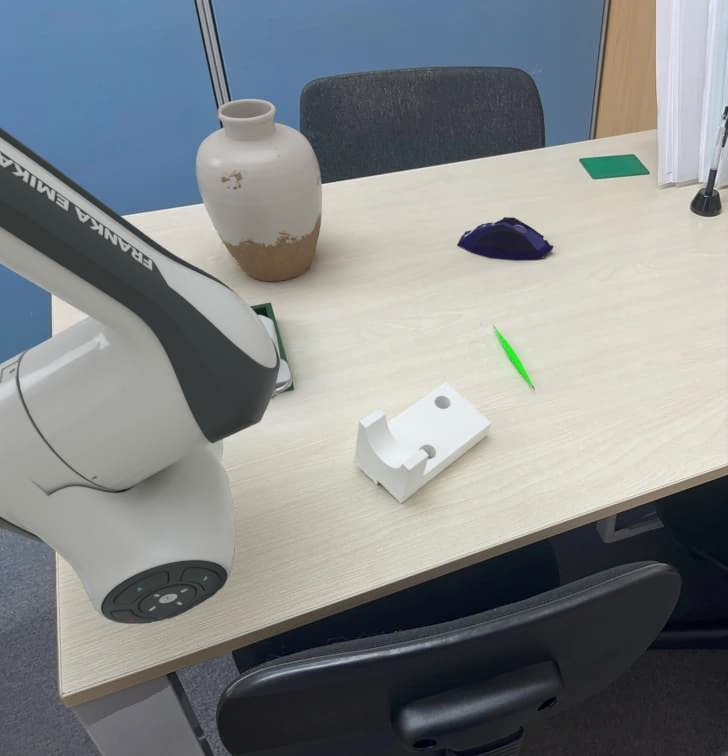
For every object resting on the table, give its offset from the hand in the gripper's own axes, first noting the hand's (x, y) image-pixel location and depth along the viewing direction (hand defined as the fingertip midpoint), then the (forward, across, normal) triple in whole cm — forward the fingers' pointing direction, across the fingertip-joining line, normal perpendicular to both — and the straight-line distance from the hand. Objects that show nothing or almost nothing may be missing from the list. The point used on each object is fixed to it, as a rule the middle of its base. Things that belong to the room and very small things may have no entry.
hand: (149, 319), depth 63 cm
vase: (+36, -14, +19) cm, 43 cm away
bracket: (-8, -23, +19) cm, 31 cm away
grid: (+15, -4, +19) cm, 25 cm away
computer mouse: (+30, -48, +18) cm, 60 cm away
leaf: (+4, -38, +18) cm, 42 cm away
